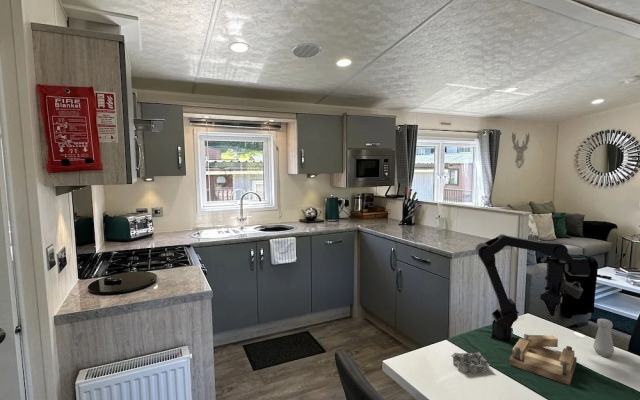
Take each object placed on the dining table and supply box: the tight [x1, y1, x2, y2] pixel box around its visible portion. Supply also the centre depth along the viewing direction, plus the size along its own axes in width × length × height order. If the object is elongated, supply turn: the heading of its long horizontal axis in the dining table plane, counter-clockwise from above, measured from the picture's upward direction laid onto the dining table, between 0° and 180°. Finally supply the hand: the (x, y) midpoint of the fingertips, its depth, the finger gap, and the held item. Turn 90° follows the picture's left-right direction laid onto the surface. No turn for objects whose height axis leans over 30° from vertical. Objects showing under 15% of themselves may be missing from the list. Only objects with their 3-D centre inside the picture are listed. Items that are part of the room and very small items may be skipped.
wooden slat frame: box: [508, 338, 578, 386], centre depth 115 cm, size 17×17×6 cm
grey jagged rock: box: [451, 351, 490, 374], centre depth 113 cm, size 11×8×4 cm
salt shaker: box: [593, 318, 615, 358], centre depth 120 cm, size 6×6×13 cm
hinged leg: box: [523, 333, 559, 348], centre depth 123 cm, size 11×3×4 cm, turn 86°
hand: (553, 313), depth 128 cm, fingers open, 6 cm apart
